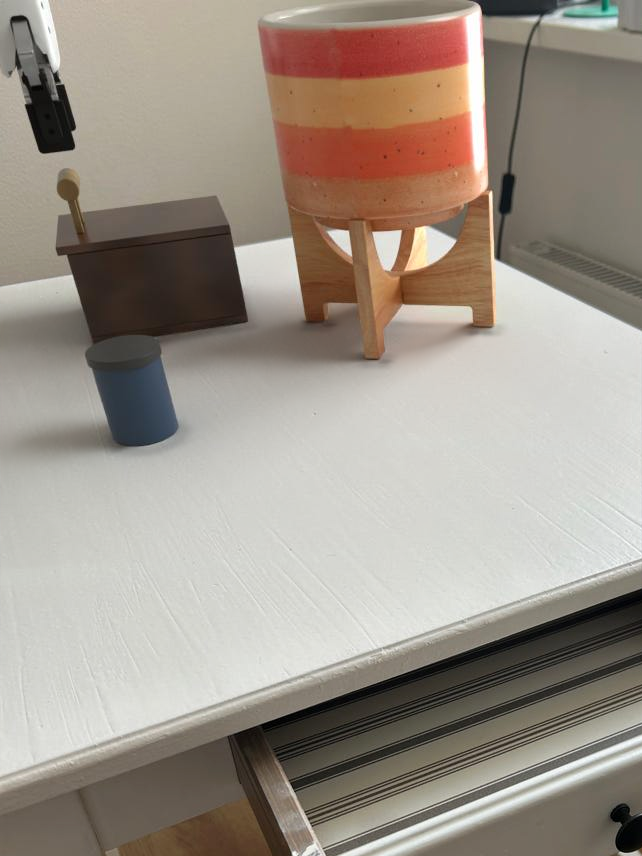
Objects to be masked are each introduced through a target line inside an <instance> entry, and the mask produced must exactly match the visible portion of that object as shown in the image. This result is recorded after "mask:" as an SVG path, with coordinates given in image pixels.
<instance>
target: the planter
mask: <svg viewBox="0 0 642 856" xmlns="http://www.w3.org/2000/svg"><path fill="white" fill-rule="evenodd" d="M257 30H258V37H259V44H260V52H261V57H262V58H261V59H262V66H263V71H264V76H265V82H266V89H267V94H268V100H269V105H270V106H269V107H270V112H271V119H272V124H273V130H274V131H273V132H274V138H275V144H276V150H277V151H276V152H277V158H278V165H279V171H280V176H281V182H282V183H281V184H282V189H283V194H284V195H283V196H284V200H285V202H286V206H287V212H288V217H289V223H290V230H291V235H292V243H293V248H294V255H295V262H296V267H297V273H298V280H299V287H300V293H301V299H302V306H303V311H304V317H305V322H315V323H316V322H318V323H324V322H326V321H327V320H328V319H329V318H330V310H329V304H356V305H357V306H358V307H357V308H358V315H359V323H360V331H361V337H362V338H361V340H362V346H363V355H364V359H374V360H375V359H376V360H380V359H381V358H382V356H383V355H384V353H385V352H386V345H385V335H384V331H385V329H386V328H387V326H388V325H389V324H390V322H391V321H392V320H393V318H394V317H395V316H396V314H397V313H398V312H399V310H400V309H401V308H402V306H435V307H436V306H438V307H439V306H440V307H470V308H471V310H472V325H473V327H490V328H493V327H495V325H496V323H497V297H496V295H497V294H496V268H495V265H496V264H495V241H494V238H495V237H494V214H493V213H494V211H493V210H494V209H493V205H494V204H493V191H492V190H491V189H490V190H487V189H488V187H489V161H488V159H489V158H488V137H487V136H488V135H487V119H486V118H487V117H486V94H485V93H486V91H485V89H486V88H485V54H484V53H485V51H484V32H483V31H484V29H483V13H482V8H481V5H479V3H477V2H475V1H473V0H351V1H339V2H330V3H329V2H328V3H320V4H313V5H312V4H311V5H304V6H297V7H291V8H286V9H281V10H276V11H273V12H269V13H266V14H264V15H261V16H260V17H259V18H258V20H257ZM465 204H467V208H466V209H467V210H466V214H465V219H464V222H463V224H462V228H461V230H460V233H459V234H458V237H457V238H456V241H455V243H454V244H453V245H452V247H451V248H450V249H449V250H448V252H446V253H445V254H444V255H443V256H442V257H440V258H438V260H436V261H434V262H432V263H431V264H429V255H428V242H427V241H428V240H427V231H426V230H427V229H426V227H428V226H432V225H435V224H439V223H443V222H446V221H448V220H450V219H451V218H454V217H455V216H457V215H459V214H460V213H461V212H462V211H463V209H464V207H465ZM325 227H327V228H330V229H335V230H339V231H346V232H348V234H349V235H348V236H349V242H350V243H349V244H350V250H351V255H350V254H349V253H347V252H346V251H345V250H343V249H342V248H341V246H339V244H338V243H336V242H335V240H334V239H333V238H332V236H331V235H330V234H329V232H328V231H327V229H326V228H325ZM396 231H401V232H400V239H399V244H398V251H397V254H396V258H395V260H394V263H393V265H392V267H391V268H390V270H386V269H384V266H383V265H382V262H381V260H380V257H379V253H378V249H377V247H376V242H375V237H374V233H383V232H396Z"/></svg>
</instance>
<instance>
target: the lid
mask: <svg viewBox="0 0 642 856" xmlns="http://www.w3.org/2000/svg"><path fill="white" fill-rule="evenodd" d="M80 180H81V179H80V176H79V174H78V173H77V172H76V171H75V170H74V169H72V168H68V167H64V168H62V169H61V170H59V172H58V174H57V181H56V192H57V194H58V196H59V198H61V199H62V200H63V201H66V202H67V205H68V209H69V211H70V213H67V214H66V213H65V214H58V215H57V225H56V236H55V247H54V248H55V252H56V255H57V256H58V257H63V256H67V255H70V254H78V253H85V252H93V251H100V250H107V249H115V248H122V247H130V246H137V245H144V244H152V243H159V242H167V241H174V240H182V239H189V238H196V237H204V236H211V235H219V234H226V233H231V234H232V230H231V225H230V222H229V221H228V220H229V219H228V218H227V215H226V214H225V211H224V209H223V207H222V205H221V202H220V200H219V198H218V196H217V195H216V194H215V195H208V196H201V197H193V198H185V199H177V200H167V201H160V202H154V203H144V204H138V205H128V206H121V207H112V208H105V209H98V210H90V211H82V209H81V205H80V201H79V196H80V186H81V185H80V184H81V183H80V182H81V181H80Z"/></svg>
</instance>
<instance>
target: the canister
mask: <svg viewBox="0 0 642 856" xmlns="http://www.w3.org/2000/svg"><path fill="white" fill-rule="evenodd" d="M162 353H163V350H162V346H161V342H160V340H159V339H158V338H156V337H155V336H147V335H126V336H119V337H114V338H110V339H106V340H103V341H101V342H98V343H96V344H94V345H93V344H92V345H91V346H89V347H88V348H87V349H86V350H85V352H84V358H85V361H86V364H87V366H88V367H89V368H90V369H91V371H92V374H93V378H94V381H95V384H96V388H97V391H98V394H99V397H100V400H101V404H102V407H103V411H104V414H105V417H106V420H107V424H108V428H109V429H110V434H111V437H112V439H113V441H114V442H115V443H117V444H118V445H122V446H128V447H139V446H147V445H152V444H156V443H159V442H162V441H164V440H167V439H169V438H170V437H172V436H173V435H174V434H176V433H177V431H178V429H179V422H178V418H177V414H176V410H175V407H174V403H173V398H172V395H171V391H170V387H169V383H168V379H167V376H166V372H165V368H164V364H163V360H162Z"/></svg>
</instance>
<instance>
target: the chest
mask: <svg viewBox="0 0 642 856" xmlns="http://www.w3.org/2000/svg"><path fill="white" fill-rule="evenodd" d="M66 259H67V261H68V265H69V268H70V272H71V275H72V278H73V281H74V284H75V288H76V291H77V295H78V298H79V301H80V304H81V308H82V312H83V315H84V318H85V321H86V324H87V328H88V332H89V334H90V335H89V336H90V338H91V342H92V345H94V344H96V343H98V342H101V341H103V340H106V339H110V338H114V337H119V336H126V335H147V336H151V337H156V336H163V335H164V336H165V335H170V334H171V335H172V334H176V333H184V332H189V331H197V330H202V329H208V328H215V327H222V326H229V325H235V324H241V323H247V322H249V317H248V310H247V307H246V302H245V296H244V291H243V285H242V281H241V275H240V270H239V265H238V260H237V255H236V250H235V246H234V239H233V234H232V232H231V233H226V234H219V235H211V236H204V237H196V238H189V239H182V240H174V241H167V242H159V243H152V244H144V245H137V246H130V247H122V248H115V249H107V250H100V251H93V252H85V253H78V254H70V255H66Z"/></svg>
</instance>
